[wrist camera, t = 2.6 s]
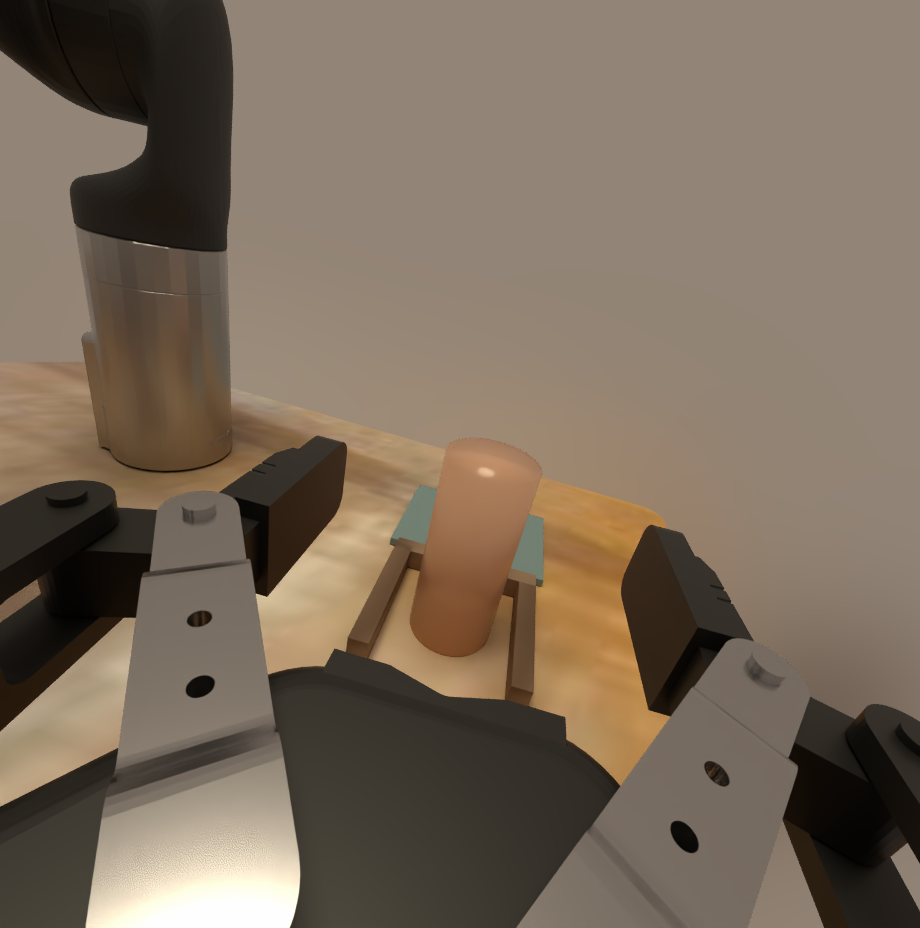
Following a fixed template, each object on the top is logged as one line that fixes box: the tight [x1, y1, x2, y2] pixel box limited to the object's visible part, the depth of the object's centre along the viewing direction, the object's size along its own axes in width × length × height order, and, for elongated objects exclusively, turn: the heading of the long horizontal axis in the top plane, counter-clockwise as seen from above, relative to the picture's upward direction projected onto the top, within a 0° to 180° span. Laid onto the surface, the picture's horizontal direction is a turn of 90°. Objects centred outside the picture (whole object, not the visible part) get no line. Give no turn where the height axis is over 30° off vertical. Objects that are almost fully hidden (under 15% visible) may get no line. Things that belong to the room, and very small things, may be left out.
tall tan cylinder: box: [410, 438, 542, 657], centre depth 26 cm, size 5×5×12 cm
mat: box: [390, 485, 543, 586], centre depth 38 cm, size 12×9×1 cm
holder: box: [346, 537, 536, 706], centre depth 29 cm, size 10×10×2 cm
